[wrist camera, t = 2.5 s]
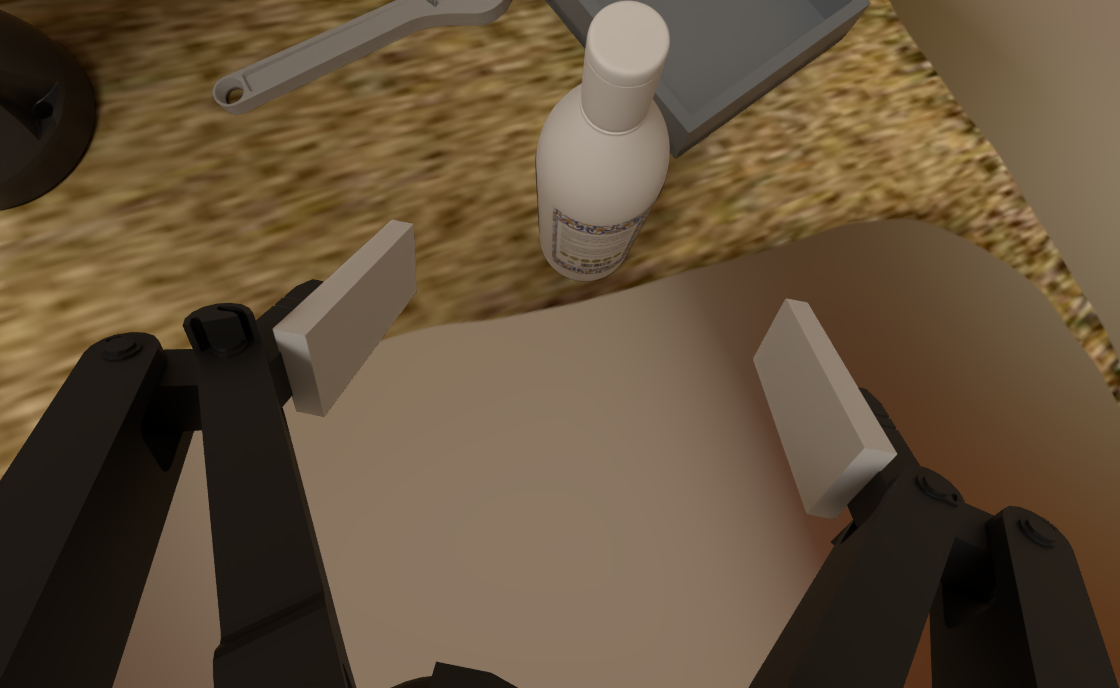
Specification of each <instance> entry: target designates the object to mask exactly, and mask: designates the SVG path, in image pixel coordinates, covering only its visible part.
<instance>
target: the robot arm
mask: <svg viewBox="0 0 1120 688" xmlns="http://www.w3.org/2000/svg"><path fill="white" fill-rule="evenodd" d="M94 117H95V101H94V94H93V90H92V87H91V83H90V81H89V78H88V76H87V74H86V72H85V71H84V69H83V68H82V66H81V65H80V63H79V62H78V61H77V60H76V59H75V57H74V56H73V55H71V54H70V53H69V52H68V51H67V50H66V49H64V48H63V47H62V46H60V45H59V44H58V43H56V42H55V41H53V40H52V39H51V38H49V37H48V36H47V35H45V34H44V33H42V32H41V31H40V30H38V29H37V28H35V27H34V26H32V25H30V24H29V23H27V22H25V21H23V20H22V19H20V18H18V17H15V16H13V15H11V14H9V13H6V12H4V11H2V10H0V210H2V209H7V208H10V207H14V206H17V205H20V204H23V203H25V202H28V201H30V200H32V199H34V198H36V197H38V196H40V195H41V194H43V193H45V192H46V191H48V190H49V189H51V188H52V187H53V186H54V185H56V184H57V183H58V182H59V181H60V180H62V179H63V178H64V177H65V176H66V175H67V174H68V173H69V171H70V170H71V169H72V168H73V167H74V165H75V164H76V163H77V161H78V160H79V158H80V157H81V155H82V153H83V152H84V150H85V148H86V146H87V144H88V141H89V138H90V136H91V132H92V129H93V124H94ZM416 292H417V290H416V267H415V244H414V224H412V223H407V222H402V221H397V220H391V221H390V222H389V223H388V224H387V225H385V226H384V227H383V228H382V229H381V230H380V231H379V232H378V233H377V234H376V235H375V236H373V237H372V238H371V239H370V240H369V241H368V242H367V243H366V244H365V245H364V246H363V247H361V248H360V249H359V250H358V251H357V252H356V253H355V254H354V255H353V256H352V257H350V258H349V259H348V260H347V261H346V262H345V263H344V264H343V265H342V266H341V267H340V268H338V269H337V270H336V271H335V272H334V273H333V274H332V275H331V276H330V277H329V278H328V279H326V280H325V281H319V280H314V279H312V280H310V281H307V282H305V283H303V284H300V285H298V286H296V287H295V288H294V289H292V290H291V291H290V292H289V293H288V294H286V295H285V297H284V298H282V299H281V300H279V301H278V302H277V303H276V304H275V306H272V307H271V308H270V309H269V310H268V311H267V312H265V313H264V314H263V315H262V316H261V317H260V318H258V319H257V320H256V321H255V317H254V314H253V312H252V311H251V310H250V308H248V307H246V306H244V305H242V304H235V303H220V304H214V305H210V306H205V307H202V308H200V309H198V310H196V311H194V312H192V313H191V314H190V315H189V316H187V317H186V318H185V320H184V323H183V328H184V330H185V332H186V334H187V337H188V339H189V341H190V344H191V346H192V348H193V349H173V350H163V348H162V346H161V344H160V342H159V340H158V339H157V338H156V337H155V336H154V335H151V334H147V333H140V332H130V333H123V334H117V335H113V336H110V337H107V338H105V339H102V340H100V341H99V342H97V343H95V344H93V345H91V346H90V347H89V348H88V349H87V350H86V351H85V352H84V353H83V355H82V356H81V358H80V359H79V361H78V362H77V364H76V365H75V367H74V368H73V370H72V372H71V373H70V375H69V376H68V378H67V379H66V381H65V382H64V384H63V385H62V387H61V388H60V390H59V391H58V393H57V395H56V396H55V398H54V399H53V401H52V402H51V404H50V405H49V407H48V408H47V410H46V411H45V413H44V414H43V416H42V418H41V419H40V421H39V422H38V424H37V425H36V427H35V428H34V430H33V431H32V433H31V434H30V436H29V437H28V439H27V440H26V442H25V444H24V445H23V447H22V448H21V450H20V451H19V453H18V454H17V456H16V457H15V459H14V460H13V462H12V463H11V465H10V467H9V468H8V470H7V471H6V473H5V474H4V476H3V477H2V479H1V480H0V688H112V686H113V683H114V680H115V677H116V674H117V670H118V668H119V664H120V661H121V658H122V655H123V652H124V649H125V646H126V643H127V639H128V636H129V633H130V630H131V627H132V624H133V621H134V617H135V614H136V611H137V608H138V605H139V602H140V599H141V596H142V593H143V589H144V586H145V583H146V580H147V577H148V574H149V571H150V568H151V564H152V561H153V558H154V555H155V552H156V548H157V546H158V543H159V539H160V536H161V533H162V530H163V527H164V524H165V520H166V517H167V514H168V511H169V508H170V505H171V501H172V498H173V495H174V492H175V489H176V486H177V483H178V480H179V477H180V474H181V471H182V467H183V464H184V461H185V457H186V455H187V452H188V449H189V445H190V442H191V439H192V436H193V433H194V431H199V430H202V433H203V445H204V455H205V466H206V477H207V487H208V499H209V510H210V521H211V531H212V542H213V553H214V563H215V574H216V585H217V596H218V607H219V617H220V629H221V641H220V645H219V646H218V647H217V648H216V650H215V652H214V658H213V679H214V688H356V685H355V682H354V678H353V674H352V671H351V667H350V664H349V661H348V657H347V653H346V650H345V646H344V642H343V638H342V634H341V630H340V627H339V623H338V619H337V615H336V611H335V607H334V603H333V599H332V595H331V592H330V588H329V584H328V580H327V576H326V572H325V568H324V564H323V561H322V557H321V553H320V549H319V545H318V542H317V538H316V533H315V530H314V526H313V522H312V518H311V514H310V510H309V506H308V503H307V499H306V495H305V491H304V487H303V483H302V479H301V476H300V472H299V468H298V464H297V460H296V456H295V452H294V448H293V444H292V441H291V437H290V433H289V429H288V425H287V421H286V418H285V414H284V411H283V408H282V407H283V406H284V404H285V403H286V402H287V401H288V400H289V399H290V397H291V396H292V398H293V401H294V405H295V408H296V411H297V412H303V413H308V414H312V415H317V416H322V417H325V415H326V414H327V413H328V411H329V410H330V409H331V407H332V406H333V404H334V403H335V402H336V400H337V399H338V398H339V396H340V395H341V393H342V392H343V391H344V389H345V388H346V386H347V385H348V384H349V383H350V381H351V380H352V379H353V377H354V376H355V375H356V373H357V372H358V370H359V369H360V368H361V366H362V365H363V364H364V362H365V361H366V359H367V358H368V357H369V355H370V354H371V353H372V351H373V350H374V349H375V347H376V346H377V345H378V343H379V342H380V341H381V339H382V338H383V336H384V335H385V334H386V332H387V331H388V330H389V328H390V327H391V326H392V324H393V323H394V321H395V320H396V319H397V317H398V316H399V315H400V313H401V312H402V311H403V309H404V308H405V307H406V305H407V304H408V302H409V301H410V300H411V298H412V297H413V296H414V294H415V293H416ZM753 361H754V364H755V366H756V369H757V372H758V375H759V378H760V381H761V384H762V387H763V390H764V393H765V395H766V398H767V401H768V404H769V407H770V410H771V413H772V416H773V419H774V421H775V424H776V427H777V430H778V433H779V436H780V438H781V442H782V445H783V447H784V450H785V453H786V456H787V459H788V462H789V465H790V468H791V470H792V473H793V476H794V479H795V482H796V485H797V488H798V491H799V494H800V496H801V499H802V502H803V505H804V508H805V511H806V513H807V514H810V515H815V516H821V517H825V518H831V519H836V517H837V516H838V515H839V514H840V513H841V512H842V511H843V510H844V509H845V508H846V507H847V506H848V508H849V510H850V513H851V515H852V518H853V520H852V521H851V522H850V523H849V524H848V525H847V526H846V527H845V528H844V529H843V530H842V531H841V532H840V533H839V534H838V535H837V536H836V537H835V538H834V539H833V540H832V541H831V543H832V544H833V545H835V546H834V548H833V549H832V551H831V552H830V554H829V555H828V557H827V559H826V561H825V562H824V564H823V565H822V567H821V569H820V570H819V572H818V574H817V575H816V577H815V579H814V580H813V582H812V584H811V585H810V587H809V588H808V590H807V592H806V593H805V595H804V597H803V598H802V600H801V602H800V603H799V605H798V607H797V608H796V610H795V612H794V613H793V615H792V617H791V618H790V620H789V622H788V623H787V625H786V626H785V628H784V630H783V631H782V633H781V635H780V636H779V638H778V640H777V641H776V643H775V645H774V646H773V648H772V650H771V651H770V653H769V655H768V656H767V658H766V660H765V661H764V663H763V664H762V666H761V668H760V669H759V671H758V673H757V674H756V676H755V678H754V679H753V681H752V683H751V684H750V686H749V688H903V687H904V684H905V681H906V678H907V675H908V672H909V669H910V666H911V663H912V661H913V658H914V655H915V652H916V649H917V646H918V643H919V640H920V637H921V634H922V631H923V629H924V626H925V623H926V620H927V617H928V614H929V611H930V637H931V668H932V688H1119V687H1118V683H1117V680H1116V678H1115V674H1114V672H1113V668H1112V665H1111V662H1110V659H1109V656H1108V653H1107V650H1106V648H1105V644H1104V641H1103V638H1102V635H1101V632H1100V629H1099V626H1098V623H1097V620H1096V617H1095V614H1094V611H1093V608H1092V605H1091V602H1090V599H1089V596H1088V593H1087V590H1086V587H1085V584H1084V581H1083V578H1082V575H1081V572H1080V569H1079V566H1078V563H1077V560H1076V557H1075V554H1074V551H1073V549H1072V547H1071V545H1070V543H1069V542H1068V540H1067V539H1066V538H1065V537H1064V536H1063V534H1062V533H1061V532H1059V530H1058V529H1057V528H1056V527H1055V526H1054V525H1053V524H1050V522H1049V521H1047V520H1045V519H1044V518H1043V517H1040V516H1039V515H1037V514H1035V513H1033V512H1032V511H1029V510H1026V509H1024V508H1021V507H1016V506H1008V507H1006V508H1004V509H1003V510H1001V511H1000V512H999V513H997V514H996V515H995V516H994V515H991V514H989V513H987V512H985V511H982V510H980V509H978V508H975V507H973V506H971V505H969V504H966V503H964V499H963V498H962V496H961V494H960V492H959V491H958V490H957V489H956V488H955V487H954V486H953V485H952V483H950V482H949V481H948V480H947V479H945V478H944V477H942V476H941V475H940V474H938V473H936V472H934V471H932V470H930V469H928V468H925V467H921V466H920V465H919V463H918V462H917V460H916V458H915V457H914V455H913V454H912V452H911V450H910V449H909V447H908V446H907V444H906V442H905V441H904V439H903V438H902V436H901V435H900V433H899V431H898V430H896V427H895V425H894V423H893V422H892V420H891V419H889V418H888V417H889V415H888V414H887V412H886V411H885V409H884V407H883V406H882V404H881V403H880V402H879V401H878V400H877V399H876V398H875V397H874V396H873V395H872V394H871V393H870V392H868V390H866V389H864V388H859V387H857V385H856V384H855V382H854V380H853V379H852V377H851V376H850V373H849V372H848V370H847V368H846V367H845V365H844V363H843V362H842V360H841V358H840V357H839V355H838V353H837V352H836V350H835V349H834V347H833V345H832V343H831V342H830V340H829V338H828V336H827V335H826V333H825V331H824V330H823V328H822V326H821V325H820V323H819V321H818V320H817V318H816V316H815V315H814V313H813V311H812V309H811V308H810V306H809V304H808V303H806V302H801V301H796V300H791V299H785V301H784V303H783V304H782V306H781V308H780V310H779V312H778V314H777V315H776V317H775V319H774V321H773V323H772V325H771V326H770V328H769V330H768V332H767V334H766V336H765V338H764V339H763V341H762V343H761V345H760V347H759V348H758V350H757V352H756V354H755V356H754V358H753ZM392 688H517V687H516V686H514V685H512V684H510V683H509V682H507V681H505V680H503V679H501V678H500V677H498V676H496V675H494V674H492V673H489V672H485V671H480V670H474V669H470V668H465V667H460V666H455V665H450V664H445V663H440V662H436V664H435V668H434V671H433V674H432V676H429V677H420V678H417V679H413V680H410V681H406V682H403V683H401V684H399V685H396V686H394V687H392Z"/></svg>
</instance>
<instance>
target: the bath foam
mask: <svg viewBox="0 0 1120 688" xmlns="http://www.w3.org/2000/svg"><path fill="white" fill-rule="evenodd" d="M669 47H670V35H669V30H668V27H667V25H666V23H665V21H664V19H663V18H662V17H661V16H660V14H659V13H658V12H657V11H655V10H654V9H653V8H651V7H650V6H648V5H646V4H643V3H640V2H636V1H619V2H615V3H613V4H610V5H608V6H606V7H605V8H603V9H602V10H601V11H599V12H598V13H597V15H596V16H595V17H594V19H593V20H592V22H591V24H590V27H589V30H588V34H587V40H586V49H585V59H584V69H583V78H582V84H580V85H578V86H577V87H575V88H574V89H572V90H571V91H570V92H568V93H567V94H566V95H565V96H564V97H563V98H562V99H561V100H560V101H559V102H558V103H557V104H556V105H555V107H554V108H553V109H552V111H551V113H550V114H549V116H548V117H547V119H546V121H545V124H544V126H543V128H542V131H541V134H540V137H539V141H538V146H537V152H536V183H537V201H538V219H539V232H540V244H541V248H542V251H543V254H544V256H545V258H546V260H547V261H548V263H549V264H550V265H551V266H552V267H553V268H554V269H555V270H556V271H557V272H558V273H560V274H561V275H563V276H565V277H567V278H570V279H573V280H577V281H594V280H598V279H601V278H603V277H606V276H608V275H609V274H611V273H612V272H614V271H615V270H616V269H617V268H618V267H619V266H620V265H621V263H622V262H623V260H624V259H625V257H626V255H627V253H628V252H629V250H630V248H631V246H632V245H633V243H634V241H635V239H636V237H637V235H638V233H639V231H640V230H641V228H642V226H643V224H644V222H645V220H646V218H647V217H648V215H649V213H650V211H651V209H652V207H653V205H654V203H655V202H656V200H657V198H658V196H659V194H660V192H661V190H662V188H663V185H664V182H665V178H666V175H667V171H668V165H669V157H670V143H669V135H668V130H667V127H666V123H665V120H664V118H663V116H662V113H661V111H660V110H659V108H658V106H657V104H656V103H655V101H654V100H653V97H654V94H655V91H656V88H657V85H658V82H659V79H660V76H661V73H662V71H663V68H664V65H665V62H666V59H667V56H668V52H669Z"/></svg>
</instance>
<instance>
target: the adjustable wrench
mask: <svg viewBox="0 0 1120 688" xmlns="http://www.w3.org/2000/svg"><path fill="white" fill-rule="evenodd" d="M510 2H511V0H396V1H393V2H391V3H389V4H387V5H384V6H382V7H380V8H378V9H375V10H373V11H371V12H369V13H366V14H364V15H362V16H360V17H357V18H355V19H353V20H351V21H348V22H346V23H344V24H342V25H339V26H337V27H335V28H333V29H330V30H328V31H326V32H324V33H321V34H319V35H317V36H315V37H312V38H310V39H308V40H306V41H303V42H301V43H299V44H297V45H294V46H292V47H290V48H287V49H285V50H283V51H281V52H278V53H276V54H274V55H272V56H269V57H267V58H265V59H263V60H260V61H258V62H256V63H254V64H251V65H249V66H247V67H245V68H242V69H240V70H238V71H236V72H233V73H231V74H229V75H227V76H224V77H222V78H221V79H219V80H218V81H217V82H216V83H215V85H214V87H213V97H214V99H215V100H216V102H217V103H218V104H219V105H221V106H222V107H223V108H224V109H225V110H226V111H228V112H229V113H232V114H243V113H246V112H248V111H250V110H252V109H254V108H256V107H259V106H261V105H263V104H265V103H267V102H269V101H271V100H273V99H275V98H277V97H279V96H282V95H284V94H286V93H288V92H290V91H292V90H294V89H296V88H298V87H300V86H303V85H305V84H307V83H309V82H311V81H313V80H315V79H317V78H319V77H321V76H323V75H326V74H328V73H330V72H332V71H334V70H336V69H338V68H340V67H342V66H344V65H347V64H349V63H351V62H353V61H355V60H357V59H359V58H361V57H363V56H365V55H367V54H370V53H372V52H374V51H376V50H378V49H380V48H382V47H384V46H386V45H388V44H391V43H393V42H395V41H397V40H399V39H401V38H403V37H405V36H407V35H409V34H411V33H414V32H416V31H419V30H422V29H426V28H431V27H440V26H452V25H472V26H479V25H485V24H488V23H491V22H494V21H495V20H497V19H498V18H499V17H501V16H502V15H503V14H504V13H505V11H506V10H507V9H508V7H509V4H510ZM239 88H241V89H243V90H244V93H243V96H242V97H241V99H240V100H239V101H237V102H236V103H233V104H228V103H227V102H226V98H227V96H228V94H229V93H230V92H231V91H232V90H234V89H239Z"/></svg>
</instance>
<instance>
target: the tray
mask: <svg viewBox="0 0 1120 688" xmlns="http://www.w3.org/2000/svg"><path fill="white" fill-rule="evenodd" d="M619 1H636V2H640V3H643V4H646V5H648V6H650V7H651V8H653V9H654V10H655V11H657V12H658V13H659V14H660V16H661V17H662V18H663V19H664V21H665V23H666V25H667V27H668V30H669V35H670V47H669V52H668V56H667V59H666V62H665V65H664V68H663V71H662V73H661V76H660V79H659V82H658V85H657V88H656V91H655V94H654V97H653V100H654V101H655V103H656V104H657V106H658V108H659V110H660V111H661V113H662V116H663V118H664V120H665V123H666V127H667V130H668V135H669V143H670V153H671V154H672V155H673V156H674V157H675V159H676V158H677V157H679V156H680V155H682V154H683V153H684V152H686V151H687V150H689V149H690V148H691V147H693V146H694V145H696V144H697V143H698V142H700V141H701V140H703V139H704V138H705V137H707V136H708V135H709V134H711V133H712V132H714V131H715V130H716V129H718V128H719V127H721V126H722V125H723V124H725V123H726V122H728V121H729V120H730V119H732V118H733V117H735V116H736V115H737V114H739V113H740V112H742V111H743V110H744V109H746V108H747V107H748V106H750V105H751V104H753V103H754V102H755V101H757V100H758V99H760V98H761V97H762V96H764V95H765V94H767V93H768V92H769V91H771V90H772V89H774V88H775V87H776V86H778V85H779V84H780V83H782V82H783V81H785V80H786V79H787V78H789V77H790V76H792V75H793V74H794V73H796V72H797V71H799V70H800V69H801V68H803V67H804V66H806V65H807V64H808V63H810V62H811V61H812V60H814V59H815V58H817V57H818V56H819V55H821V54H822V53H824V52H825V51H826V50H828V49H829V48H831V47H832V46H833V45H835V44H836V43H838V42H839V41H840V40H842V38H843V37H844V36H845V35H846V33H847V32H848V31H849V30H850V29H851V27H852V26H853V25H854V24H855V22H856V21H857V20H858V19H859V17H860V16H861V15H862V14H863V12H864V11H865V10H866V9H867V8H868V6H869V5H870V4H871V3H870V2H869V1H868V0H546V2H547V3H548V4H549V5H550V6H551V8H552V9H553V10H554V11H555V12H556V14H557V15H558V16H559V17H560V19H561V20H562V21H563V22H564V23H565V25H566V26H567V27H568V28H569V30H570V31H571V32H572V33H573V34H574V36H575V37H576V38H577V39H578V40H579V42H580V43H581V44H582V45H583V47H584V48H585V49H586V40H587V34H588V30H589V27H590V24H591V22H592V20H593V19H594V17H595V16H596V15H597V13H598V12H599V11H601V10H602V9H603V8H605V7H606V6H608V5H610V4H613V3H615V2H619Z"/></svg>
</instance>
